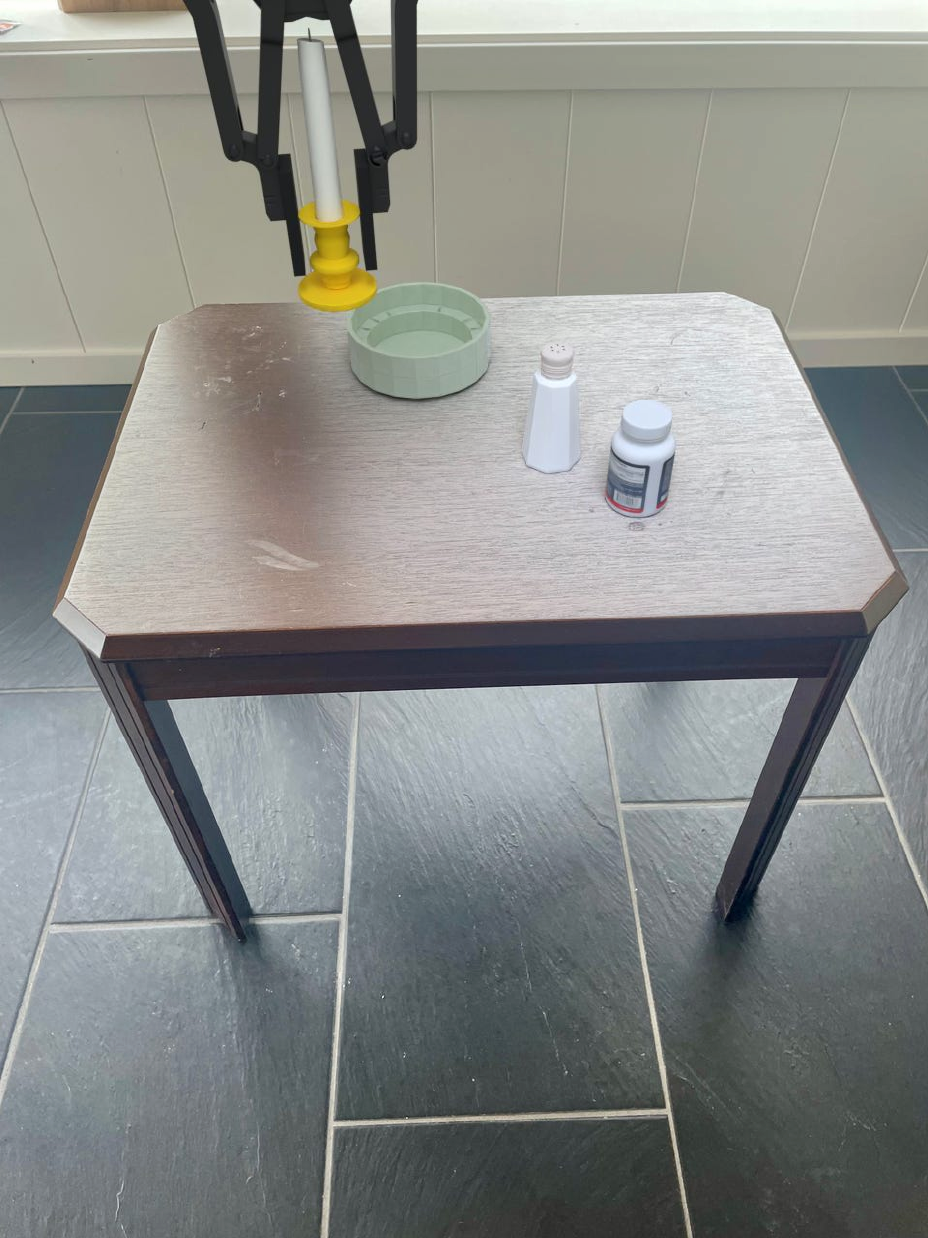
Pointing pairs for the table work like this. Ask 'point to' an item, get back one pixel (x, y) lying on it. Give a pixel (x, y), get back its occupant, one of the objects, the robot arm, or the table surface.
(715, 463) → the table surface
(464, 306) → the bowl
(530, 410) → the pepper shaker
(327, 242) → the candle
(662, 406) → the pill bottle
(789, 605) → the table surface
